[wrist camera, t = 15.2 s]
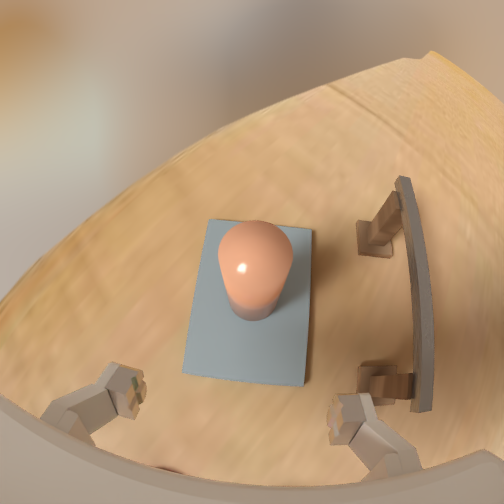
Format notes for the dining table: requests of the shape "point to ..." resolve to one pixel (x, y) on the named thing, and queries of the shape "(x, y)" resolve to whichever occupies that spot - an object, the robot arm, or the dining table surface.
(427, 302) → the metal bar
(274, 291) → the terracotta cylinder
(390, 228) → the hurdle posts
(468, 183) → the dining table surface
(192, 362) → the pad
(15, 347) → the dining table surface
